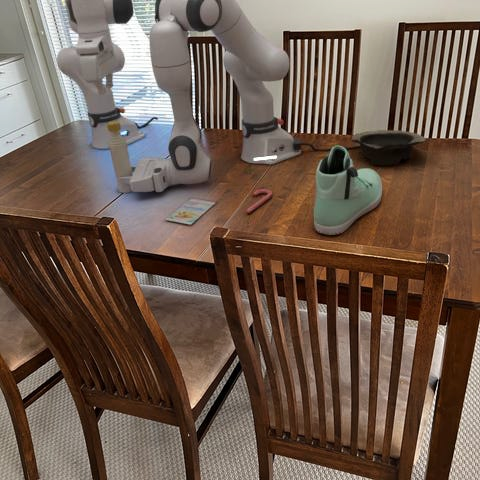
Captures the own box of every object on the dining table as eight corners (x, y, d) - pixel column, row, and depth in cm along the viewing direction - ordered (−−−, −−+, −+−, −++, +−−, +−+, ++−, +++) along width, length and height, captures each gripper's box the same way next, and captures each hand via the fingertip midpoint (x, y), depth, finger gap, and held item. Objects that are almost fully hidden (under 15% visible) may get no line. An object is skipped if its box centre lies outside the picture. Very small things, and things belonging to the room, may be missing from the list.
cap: (109, 128, 152) (107, 121, 151) (121, 127, 152) (120, 120, 151) (107, 132, 149) (106, 125, 148) (120, 131, 149) (118, 124, 148)
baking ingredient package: (164, 218, 140) (191, 197, 151) (165, 220, 140) (191, 199, 151) (190, 223, 136) (215, 201, 148) (190, 225, 136) (216, 203, 148)
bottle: (119, 186, 164) (105, 122, 152) (136, 184, 164) (123, 120, 152) (117, 193, 159) (103, 127, 147) (134, 191, 159) (121, 125, 147)
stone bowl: (384, 176, 155) (384, 148, 151) (336, 158, 175) (335, 133, 171) (440, 157, 164) (442, 130, 159) (388, 142, 184) (389, 118, 180)
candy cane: (232, 210, 143) (232, 206, 142) (259, 190, 153) (259, 186, 152) (249, 215, 140) (248, 210, 139) (276, 194, 150) (275, 190, 149)
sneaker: (389, 187, 148) (396, 123, 138) (356, 242, 123) (361, 168, 112) (346, 181, 154) (350, 119, 144) (306, 232, 129) (307, 161, 118)
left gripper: (97, 36, 146) (106, 83, 153) (72, 49, 129) (85, 100, 136) (117, 35, 146) (125, 81, 153) (95, 47, 128) (106, 99, 136)
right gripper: (165, 151, 165) (125, 154, 166) (157, 176, 148) (112, 178, 148) (168, 168, 169) (129, 171, 169) (160, 194, 151) (116, 197, 152)
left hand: (106, 90), depth 144 cm, fingers open, 6 cm apart
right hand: (121, 175), depth 159 cm, fingers closed on bottle, 5 cm apart
